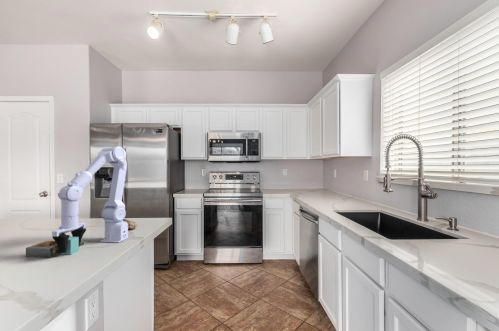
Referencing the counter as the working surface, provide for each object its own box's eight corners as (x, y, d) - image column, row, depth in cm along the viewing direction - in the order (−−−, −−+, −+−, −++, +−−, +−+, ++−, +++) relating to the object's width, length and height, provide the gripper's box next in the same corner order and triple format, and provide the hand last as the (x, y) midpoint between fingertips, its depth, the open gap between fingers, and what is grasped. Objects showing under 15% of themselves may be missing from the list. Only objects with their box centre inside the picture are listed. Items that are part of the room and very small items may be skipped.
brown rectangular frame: (68, 249, 103) (68, 240, 103) (52, 255, 95) (52, 246, 95) (48, 248, 104) (48, 240, 104) (30, 255, 96) (30, 246, 96)
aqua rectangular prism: (78, 251, 101) (78, 236, 101) (70, 255, 97) (70, 239, 97) (69, 251, 101) (69, 236, 101) (61, 254, 97) (61, 239, 97)
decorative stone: (134, 216, 148) (140, 223, 136) (133, 223, 148) (140, 231, 136) (116, 218, 142) (121, 226, 130) (116, 225, 142) (121, 234, 130)
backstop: (84, 244, 110) (84, 236, 110) (52, 257, 93) (52, 248, 93) (59, 243, 111) (59, 235, 111) (23, 256, 94) (23, 247, 94)
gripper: (75, 212, 106) (74, 243, 106) (44, 219, 92) (44, 255, 92) (90, 212, 106) (90, 243, 106) (62, 219, 91) (62, 256, 91)
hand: (70, 249), depth 99 cm, fingers open, 6 cm apart
